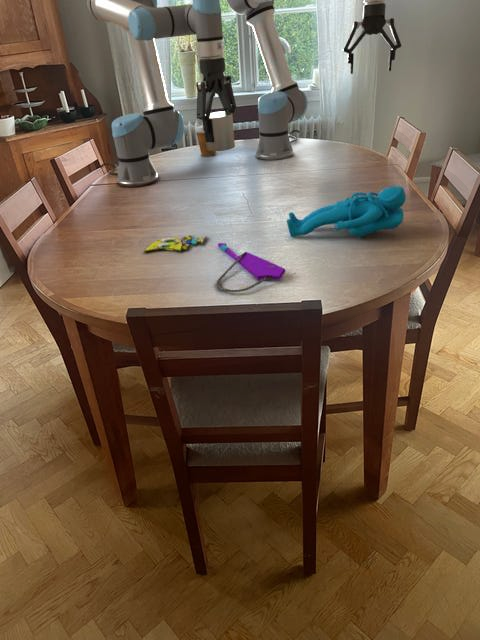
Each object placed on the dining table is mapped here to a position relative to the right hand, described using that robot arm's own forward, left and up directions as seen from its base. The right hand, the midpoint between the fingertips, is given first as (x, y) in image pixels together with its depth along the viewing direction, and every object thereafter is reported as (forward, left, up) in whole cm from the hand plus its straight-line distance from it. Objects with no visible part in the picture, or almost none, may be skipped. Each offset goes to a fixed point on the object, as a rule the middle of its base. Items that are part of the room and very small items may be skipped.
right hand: (370, 72), depth 177 cm
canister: (+45, -52, -13) cm, 70 cm away
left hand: (+45, -52, -10) cm, 69 cm away
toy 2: (+80, -16, -29) cm, 87 cm away
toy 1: (+84, -61, -29) cm, 107 cm away
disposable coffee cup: (-12, -66, -29) cm, 73 cm away
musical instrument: (+100, -42, -29) cm, 113 cm away
